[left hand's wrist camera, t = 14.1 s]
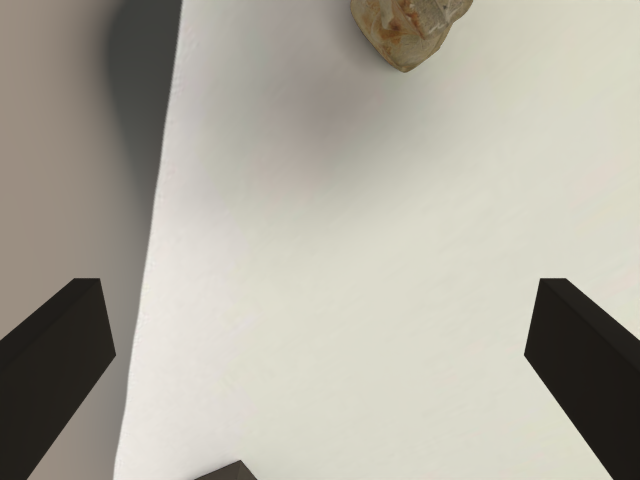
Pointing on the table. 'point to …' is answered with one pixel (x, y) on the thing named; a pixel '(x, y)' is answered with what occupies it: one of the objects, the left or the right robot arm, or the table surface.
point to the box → (230, 473)
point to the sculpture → (407, 27)
